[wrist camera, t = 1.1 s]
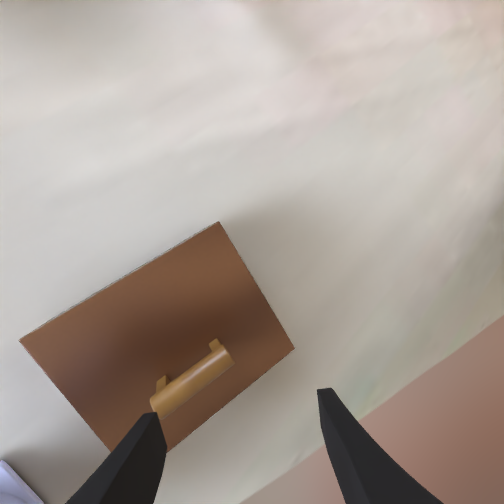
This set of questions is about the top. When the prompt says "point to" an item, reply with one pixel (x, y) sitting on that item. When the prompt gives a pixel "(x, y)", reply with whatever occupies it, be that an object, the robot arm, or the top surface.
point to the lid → (163, 341)
